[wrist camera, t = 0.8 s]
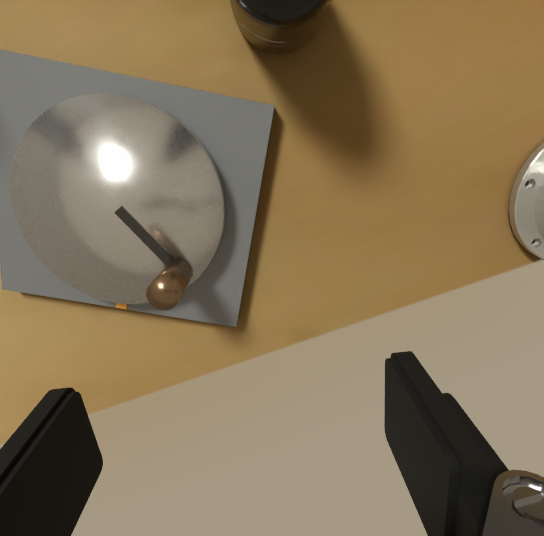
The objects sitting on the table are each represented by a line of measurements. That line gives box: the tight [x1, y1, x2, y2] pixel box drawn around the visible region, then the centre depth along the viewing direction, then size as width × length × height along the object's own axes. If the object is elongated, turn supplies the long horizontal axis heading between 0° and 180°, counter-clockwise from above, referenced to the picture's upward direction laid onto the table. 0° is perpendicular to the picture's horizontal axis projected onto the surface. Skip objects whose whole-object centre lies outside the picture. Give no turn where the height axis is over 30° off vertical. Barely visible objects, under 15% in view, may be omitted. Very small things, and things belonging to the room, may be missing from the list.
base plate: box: [0, 50, 274, 327], centre depth 32 cm, size 22×20×2 cm
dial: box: [10, 93, 225, 310], centre depth 28 cm, size 17×17×6 cm
